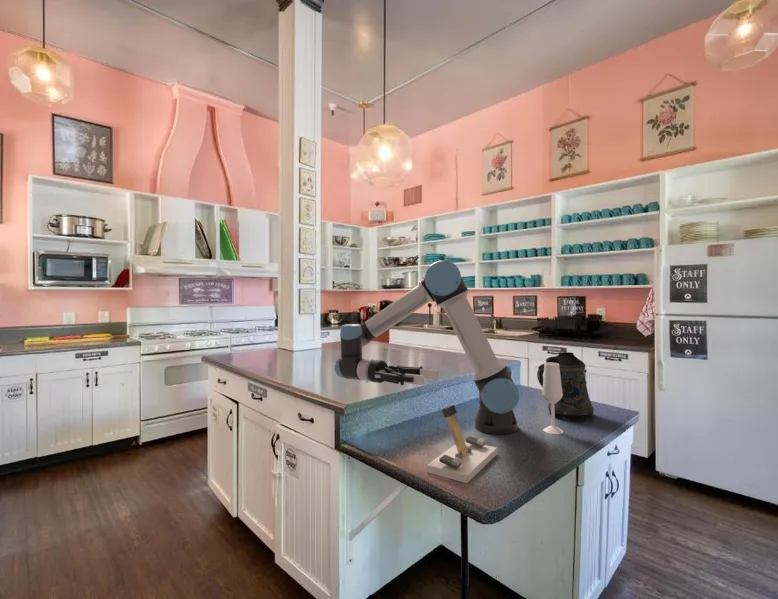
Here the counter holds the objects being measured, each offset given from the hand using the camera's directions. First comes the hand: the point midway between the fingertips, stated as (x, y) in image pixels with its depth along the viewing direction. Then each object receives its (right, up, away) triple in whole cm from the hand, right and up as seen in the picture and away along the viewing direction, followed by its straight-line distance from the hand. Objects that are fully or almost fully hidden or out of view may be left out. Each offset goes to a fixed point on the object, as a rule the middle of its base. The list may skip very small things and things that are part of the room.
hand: (431, 377), depth 119 cm
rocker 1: (+4, -21, -13) cm, 25 cm away
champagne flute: (+46, -23, +18) cm, 54 cm away
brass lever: (+9, -21, -6) cm, 24 cm away
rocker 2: (+14, -20, +1) cm, 25 cm away
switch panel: (+9, -24, -6) cm, 26 cm away
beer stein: (+58, -22, +35) cm, 71 cm away
